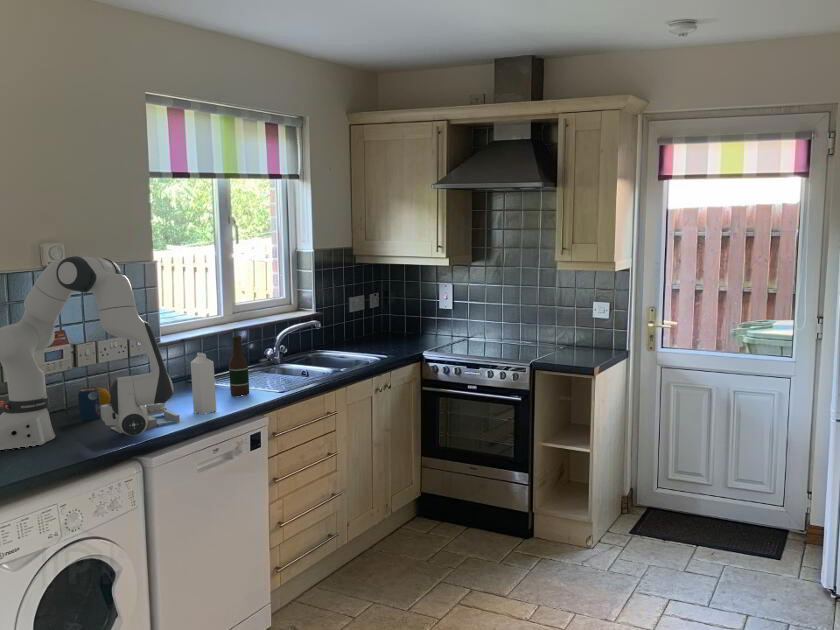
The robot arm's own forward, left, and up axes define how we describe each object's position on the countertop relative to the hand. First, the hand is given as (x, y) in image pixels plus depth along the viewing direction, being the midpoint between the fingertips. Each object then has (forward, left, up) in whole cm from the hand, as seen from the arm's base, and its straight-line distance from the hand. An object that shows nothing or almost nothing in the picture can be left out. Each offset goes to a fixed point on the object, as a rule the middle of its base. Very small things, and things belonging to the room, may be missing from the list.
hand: (133, 403), depth 269 cm
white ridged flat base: (+4, -1, -9) cm, 10 cm away
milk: (+29, +7, -9) cm, 31 cm away
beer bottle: (+52, +24, -9) cm, 58 cm away
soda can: (-7, +23, -9) cm, 26 cm away
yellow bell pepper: (+1, +38, -10) cm, 39 cm away
